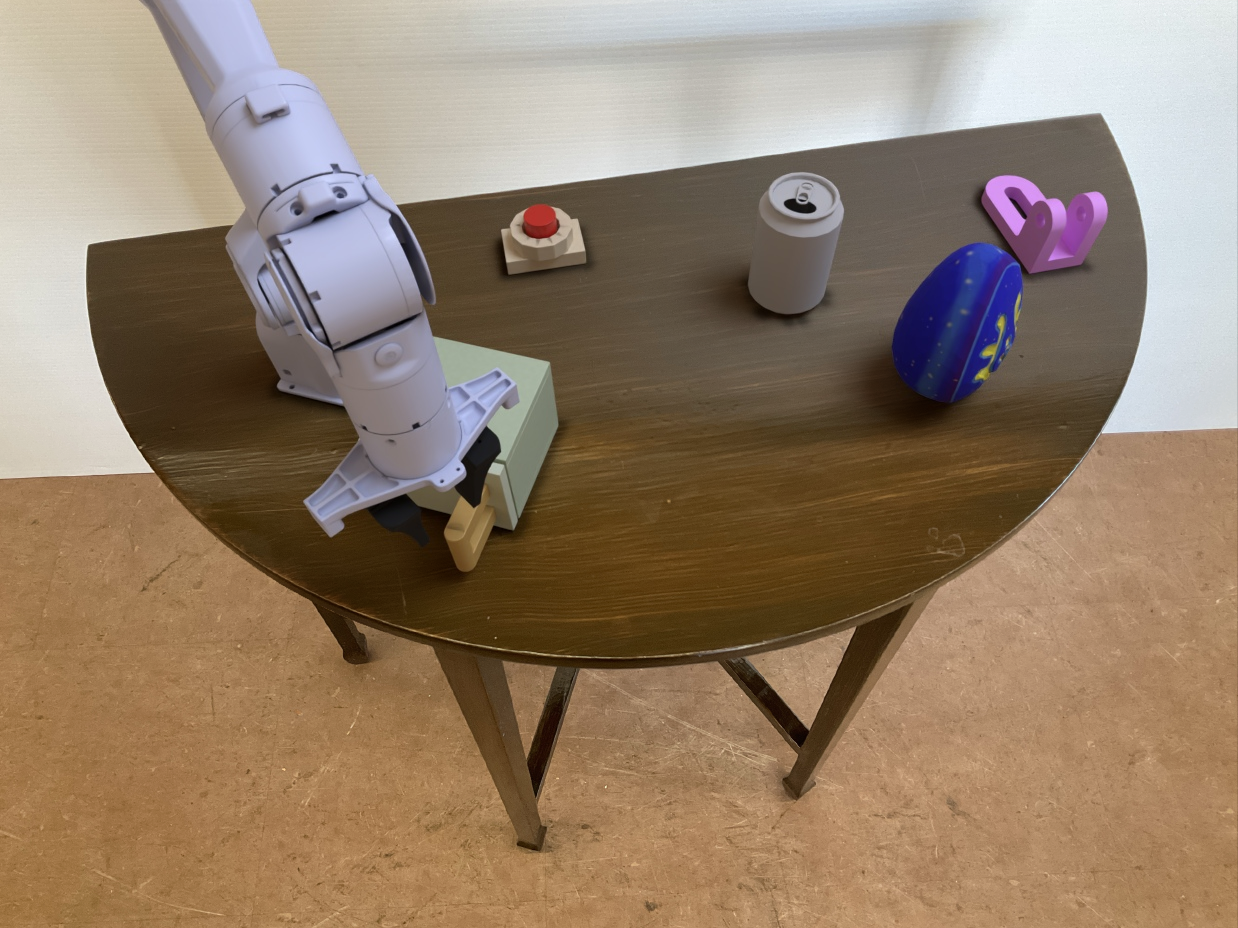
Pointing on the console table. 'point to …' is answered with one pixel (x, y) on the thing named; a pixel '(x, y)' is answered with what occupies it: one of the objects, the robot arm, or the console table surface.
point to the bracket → (1044, 223)
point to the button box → (543, 245)
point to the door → (471, 515)
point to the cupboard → (522, 425)
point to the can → (795, 242)
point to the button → (540, 221)
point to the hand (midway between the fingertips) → (443, 516)
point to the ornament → (959, 323)
